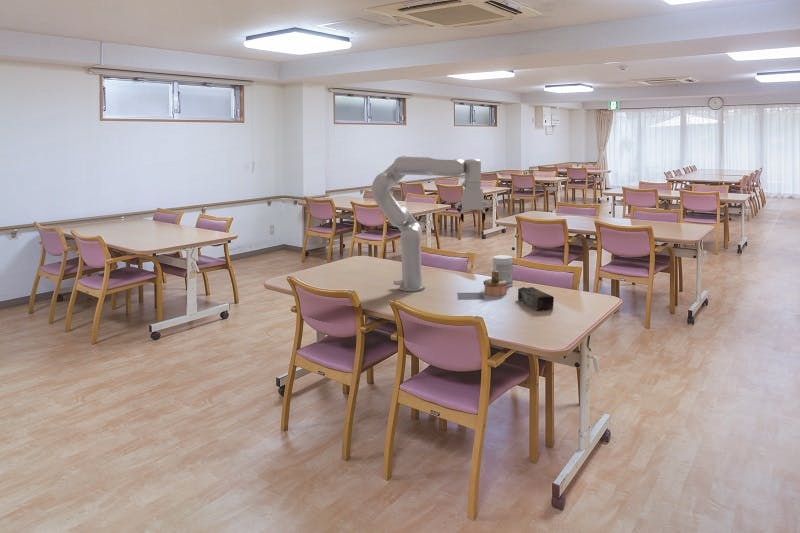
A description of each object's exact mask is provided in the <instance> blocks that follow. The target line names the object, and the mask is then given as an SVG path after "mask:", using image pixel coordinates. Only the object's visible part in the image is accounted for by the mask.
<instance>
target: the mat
mask: <svg viewBox="0 0 800 533" xmlns="http://www.w3.org/2000/svg"><path fill="white" fill-rule="evenodd" d="M456 294H457V295H456V296H457V300H458V301H461V300H463V301H465V300H467V301H469V300H472V301H473V300H475V301H476V300H479V301H480V300H485V297H484V293H483V292H457V293H456Z"/></svg>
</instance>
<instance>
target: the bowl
mask: <svg viewBox="0 0 800 533" xmlns="http://www.w3.org/2000/svg"><path fill="white" fill-rule="evenodd" d="M507 289H508V288H507V285H506V286H502V287H490V286H486V285H484V294H485V295H487V296H492V297H493V296H494V297H500V296H504V295H507V292H508V290H507Z"/></svg>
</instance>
